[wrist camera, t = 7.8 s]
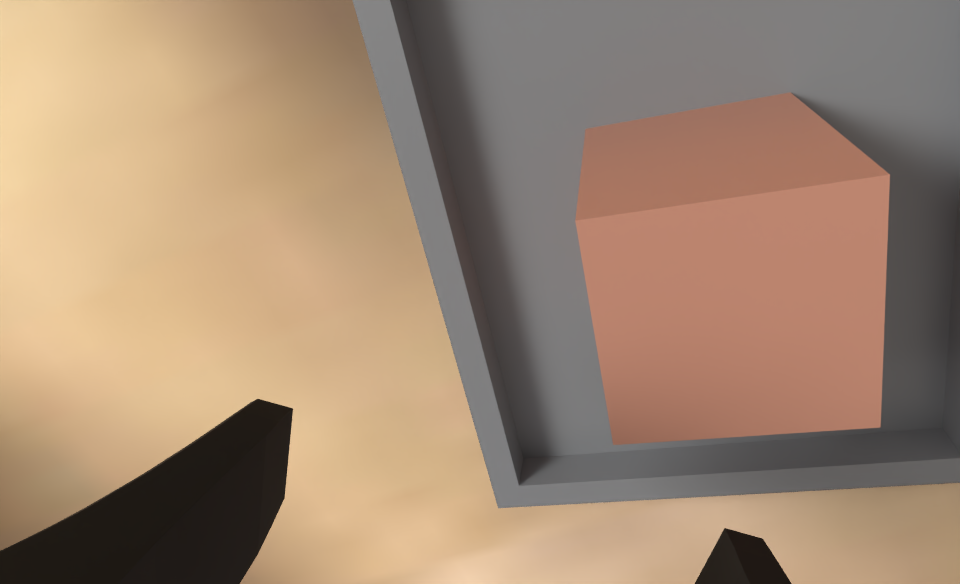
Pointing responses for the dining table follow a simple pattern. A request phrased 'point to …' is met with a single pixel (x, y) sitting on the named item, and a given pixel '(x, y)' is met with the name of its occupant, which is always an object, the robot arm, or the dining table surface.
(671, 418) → the tan block
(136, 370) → the dining table surface
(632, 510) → the dining table surface
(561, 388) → the grey tray
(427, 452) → the dining table surface
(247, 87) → the dining table surface
